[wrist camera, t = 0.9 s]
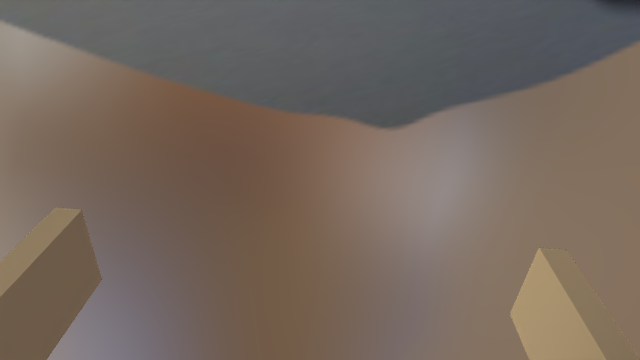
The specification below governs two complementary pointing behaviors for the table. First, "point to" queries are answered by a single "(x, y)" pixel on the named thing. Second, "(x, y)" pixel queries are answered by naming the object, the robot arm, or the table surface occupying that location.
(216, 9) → the table surface
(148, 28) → the table surface
